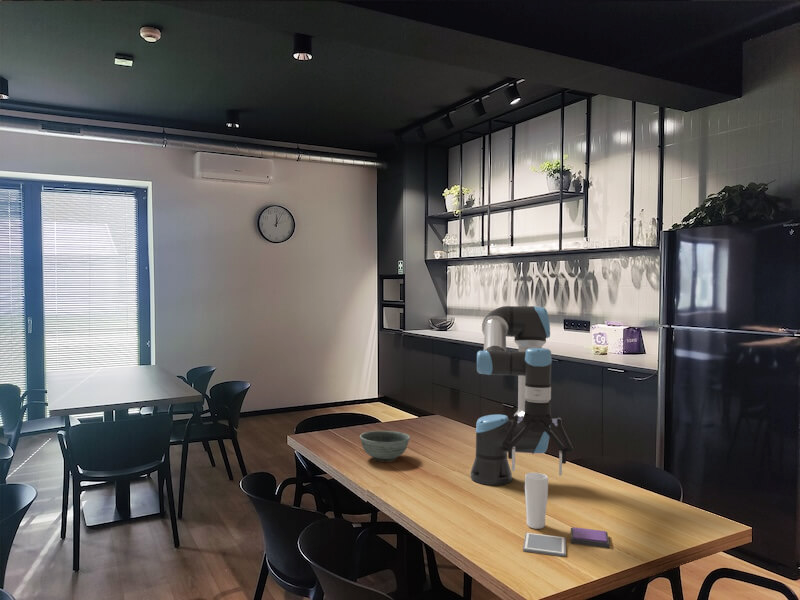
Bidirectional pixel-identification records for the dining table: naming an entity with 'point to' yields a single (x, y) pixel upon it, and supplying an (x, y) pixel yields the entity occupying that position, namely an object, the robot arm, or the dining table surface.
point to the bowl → (384, 444)
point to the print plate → (545, 544)
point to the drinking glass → (536, 499)
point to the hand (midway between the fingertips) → (536, 472)
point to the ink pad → (589, 537)
